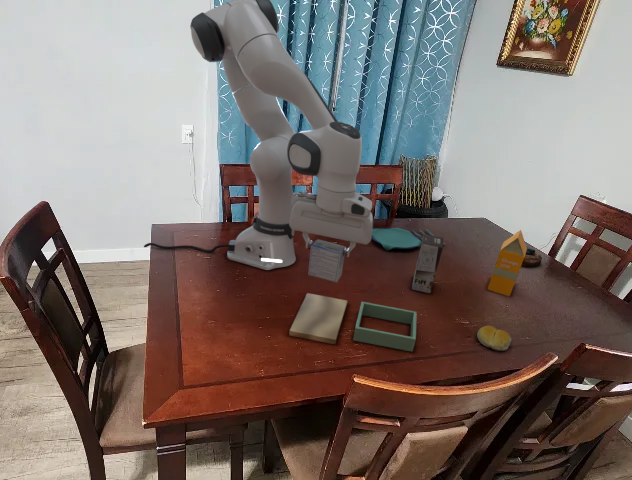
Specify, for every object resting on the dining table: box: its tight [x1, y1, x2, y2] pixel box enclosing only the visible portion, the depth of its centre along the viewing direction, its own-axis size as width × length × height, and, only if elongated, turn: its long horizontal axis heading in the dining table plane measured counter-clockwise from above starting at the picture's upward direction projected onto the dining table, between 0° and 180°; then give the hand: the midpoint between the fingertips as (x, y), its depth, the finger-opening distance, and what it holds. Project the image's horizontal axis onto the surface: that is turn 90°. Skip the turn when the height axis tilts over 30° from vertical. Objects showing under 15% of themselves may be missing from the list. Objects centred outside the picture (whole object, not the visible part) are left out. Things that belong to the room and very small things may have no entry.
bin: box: [352, 301, 418, 352], centre depth 118 cm, size 16×14×4 cm
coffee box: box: [411, 233, 444, 294], centre depth 141 cm, size 9×6×16 cm
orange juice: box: [487, 229, 527, 297], centre depth 145 cm, size 8×9×20 cm
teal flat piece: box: [371, 227, 446, 251], centre depth 174 cm, size 20×30×2 cm, turn 113°
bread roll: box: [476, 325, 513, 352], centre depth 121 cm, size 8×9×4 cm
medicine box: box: [307, 238, 346, 283], centre depth 112 cm, size 8×4×9 cm, turn 74°
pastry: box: [521, 245, 543, 268], centre depth 172 cm, size 11×12×6 cm
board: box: [288, 292, 348, 345], centre depth 120 cm, size 12×20×2 cm, turn 172°
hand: (327, 252), depth 110 cm, fingers closed on medicine box, 8 cm apart
